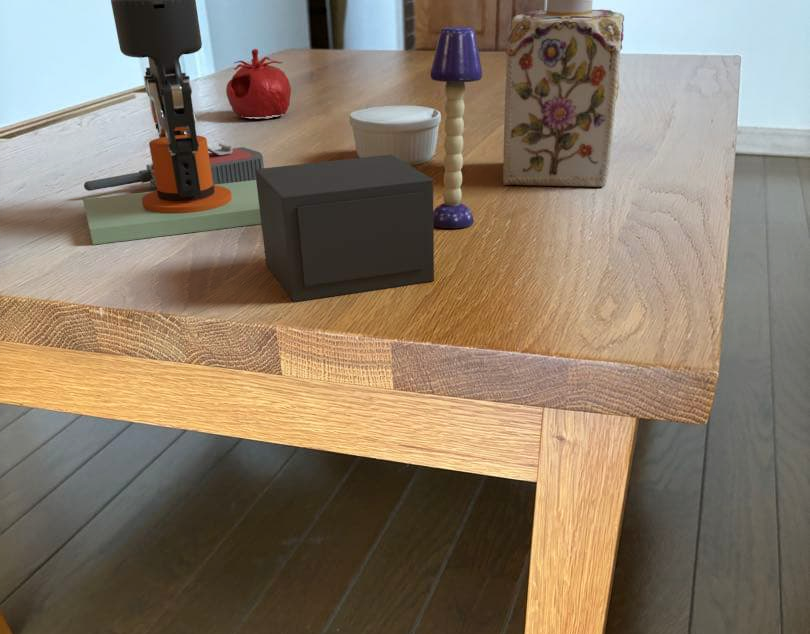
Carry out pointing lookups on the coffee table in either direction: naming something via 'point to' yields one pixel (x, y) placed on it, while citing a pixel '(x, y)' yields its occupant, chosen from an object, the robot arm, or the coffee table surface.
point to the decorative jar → (561, 95)
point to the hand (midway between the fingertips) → (185, 187)
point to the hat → (166, 191)
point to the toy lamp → (454, 116)
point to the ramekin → (396, 132)
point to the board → (167, 216)
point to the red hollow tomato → (258, 89)
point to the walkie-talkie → (223, 164)
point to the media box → (346, 225)
